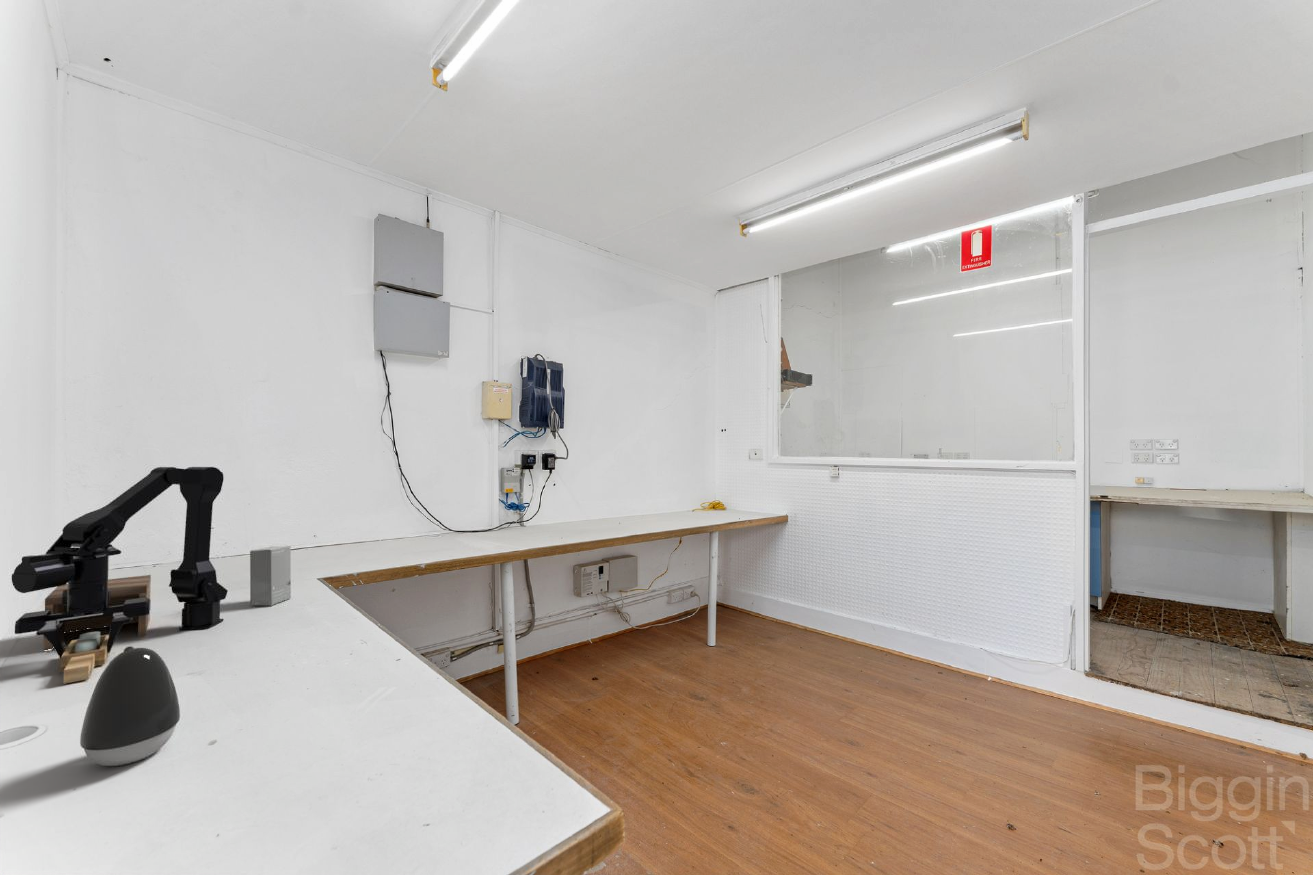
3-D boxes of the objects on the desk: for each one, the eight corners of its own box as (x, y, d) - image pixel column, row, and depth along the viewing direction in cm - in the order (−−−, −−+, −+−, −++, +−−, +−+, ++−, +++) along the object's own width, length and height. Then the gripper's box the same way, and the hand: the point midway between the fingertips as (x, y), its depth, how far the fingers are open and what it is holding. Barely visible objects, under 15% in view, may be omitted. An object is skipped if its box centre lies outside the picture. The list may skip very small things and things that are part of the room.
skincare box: (271, 606, 150) (272, 550, 150) (246, 606, 150) (247, 550, 150) (292, 598, 158) (293, 544, 159) (269, 598, 159) (270, 544, 159)
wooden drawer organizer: (145, 635, 126) (146, 586, 127) (43, 652, 116) (45, 598, 116) (149, 619, 139) (150, 574, 139) (57, 633, 128) (59, 584, 128)
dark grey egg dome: (171, 729, 84) (173, 631, 84) (185, 752, 77) (188, 647, 78) (76, 758, 76) (79, 650, 76) (82, 787, 69) (85, 669, 70)
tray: (99, 676, 102) (99, 653, 103) (52, 686, 99) (52, 661, 99) (111, 647, 118) (112, 627, 118) (71, 654, 114) (71, 633, 114)
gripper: (152, 567, 123) (151, 635, 122) (28, 580, 110) (26, 656, 110) (149, 575, 114) (148, 649, 114) (15, 591, 102) (12, 673, 102)
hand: (86, 656), depth 110 cm, fingers closed on tray, 6 cm apart
